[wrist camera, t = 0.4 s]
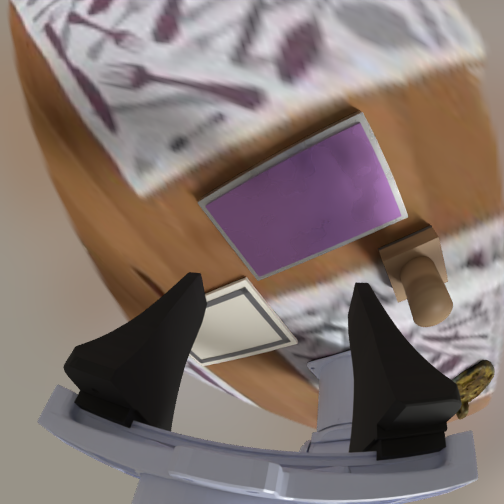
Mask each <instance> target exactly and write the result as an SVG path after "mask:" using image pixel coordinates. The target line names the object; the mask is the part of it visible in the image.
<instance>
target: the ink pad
mask: <svg viewBox="0 0 504 504" xmlns="http://www.w3.org/2000/svg"><path fill="white" fill-rule="evenodd" d="M198 204H199V205H200V207H201V208H202V209H203V211H204V212H205V213H206V215H207V216H208V217H209V218H210V220H211V221H212V222H213V224H214V225H215V226H216V228H217V229H218V230H219V231H220V233H221V234H222V235H223V237H224V238H225V239H226V241H227V242H228V243H229V244H230V246H231V247H232V248H233V250H234V251H235V252H236V253H237V255H238V256H239V257H240V259H241V260H242V261H243V262H244V264H245V265H246V266H247V268H248V269H249V270H250V271H251V273H252V274H253V275H254V276H255V278H256V279H257V280H258V281H259V280H261V279H264V278H266V277H269V276H271V275H274V274H276V273H279V272H281V271H284V270H286V269H289V268H291V267H293V266H296V265H298V264H301V263H303V262H305V261H308V260H310V259H313V258H315V257H317V256H320V255H322V254H325V253H327V252H329V251H332V250H334V249H336V248H339V247H341V246H343V245H346V244H348V243H350V242H353V241H355V240H357V239H360V238H362V237H364V236H367V235H369V234H371V233H373V232H376V231H378V230H380V229H382V228H385V227H387V226H389V225H391V224H394V223H396V222H398V221H400V220H403V219H405V218H407V217H408V215H407V212H406V209H405V206H404V204H403V201H402V198H401V196H400V193H399V191H398V188H397V185H396V183H395V181H394V178H393V176H392V173H391V171H390V169H389V166H388V164H387V162H386V159H385V157H384V155H383V153H382V151H381V148H380V146H379V144H378V142H377V140H376V138H375V136H374V134H373V132H372V130H371V128H370V126H369V124H368V122H367V120H366V118H365V116H364V114H363V112H361V111H360V110H359V111H357V112H355V113H353V114H351V115H349V116H347V117H345V118H343V119H341V120H339V121H337V122H334V123H332V124H330V125H328V126H326V127H325V128H323V129H321V130H319V131H317V132H315V133H313V134H311V135H309V136H307V137H305V138H303V139H301V140H299V141H298V142H296V143H294V144H292V145H290V146H288V147H286V148H285V149H283V150H281V151H279V152H277V153H275V154H274V155H272V156H270V157H268V158H266V159H265V160H263V161H261V162H259V163H258V164H256V165H254V166H252V167H251V168H249V169H247V170H246V171H244V172H242V173H240V174H239V175H237V176H235V177H234V178H232V179H230V180H229V181H227V182H225V183H224V184H222V185H220V186H219V187H217V188H216V189H214V190H212V191H211V192H209V193H207V194H206V195H204V196H203V197H201V199H200V200H199V201H198Z"/></svg>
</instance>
